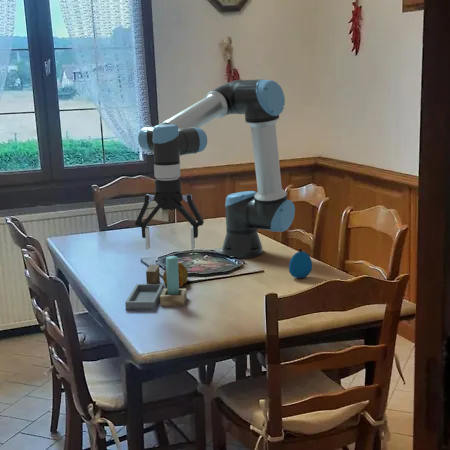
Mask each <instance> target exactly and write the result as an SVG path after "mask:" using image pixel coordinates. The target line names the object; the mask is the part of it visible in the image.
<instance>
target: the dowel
mask: <svg viewBox="0 0 450 450" xmlns="http://www.w3.org/2000/svg"><path fill="white" fill-rule="evenodd" d="M178 263H179V257H178V256H176V255H169V256H166V257H165V267H166V268H165V270H166V273H167V287H166V289H167V292H168V295H179V289H180V287H179V274H178Z"/></svg>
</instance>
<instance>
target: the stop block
mask: <svg viewBox="0 0 450 450" xmlns="http://www.w3.org/2000/svg"><path fill="white" fill-rule="evenodd" d="M145 276H146V284H161V283H160V282H161V275H160V264H150V265H149V266H148V268H147V269H146V271H145Z"/></svg>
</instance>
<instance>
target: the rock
mask: <svg viewBox="0 0 450 450" xmlns="http://www.w3.org/2000/svg"><path fill="white" fill-rule="evenodd" d="M178 274H179V288H180V287H183V285H185V284H186V283H188V277H189V276H188V275H189V273H188V270H187V267H186V266H185V265H184V264H183V263H182V262H179V261H178ZM162 280H163V282H164V285H165V287H166V288H167V273H166V269H165V271H164V272H163V275H162Z"/></svg>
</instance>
